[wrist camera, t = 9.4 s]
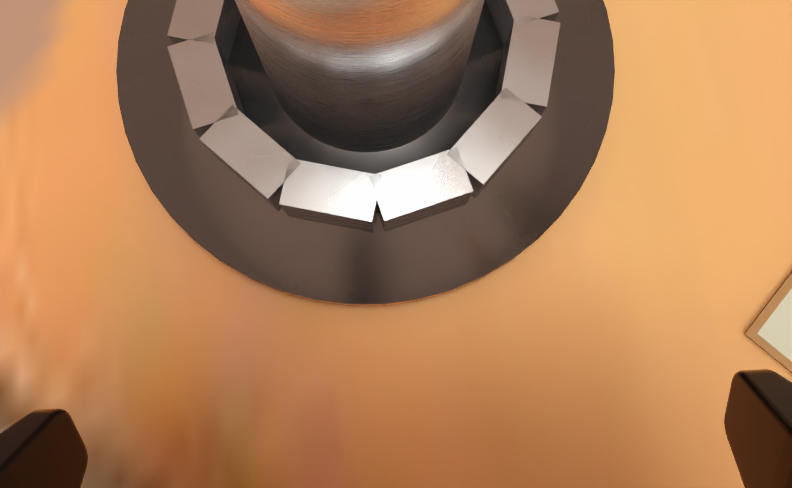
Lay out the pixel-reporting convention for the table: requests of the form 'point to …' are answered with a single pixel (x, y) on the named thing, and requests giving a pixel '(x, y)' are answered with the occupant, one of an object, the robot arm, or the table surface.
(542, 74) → the hub flange
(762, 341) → the stand pad
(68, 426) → the robot arm
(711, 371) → the table surface
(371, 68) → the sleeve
